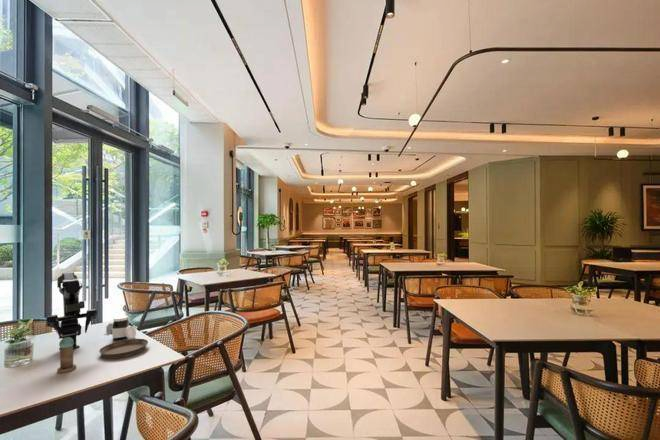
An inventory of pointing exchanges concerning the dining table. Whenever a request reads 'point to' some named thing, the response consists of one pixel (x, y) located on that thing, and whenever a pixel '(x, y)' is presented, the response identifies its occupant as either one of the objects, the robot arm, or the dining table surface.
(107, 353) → the plant saucer
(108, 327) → the lighter
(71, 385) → the dining table surface
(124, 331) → the spread jar
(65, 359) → the bead column
